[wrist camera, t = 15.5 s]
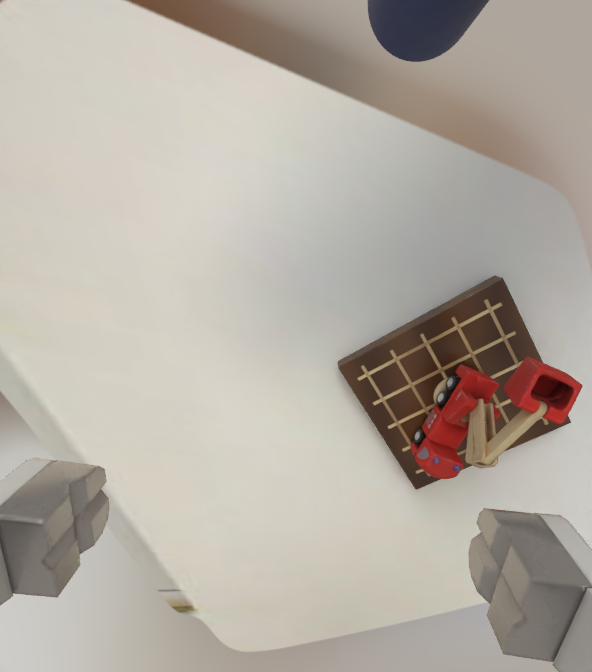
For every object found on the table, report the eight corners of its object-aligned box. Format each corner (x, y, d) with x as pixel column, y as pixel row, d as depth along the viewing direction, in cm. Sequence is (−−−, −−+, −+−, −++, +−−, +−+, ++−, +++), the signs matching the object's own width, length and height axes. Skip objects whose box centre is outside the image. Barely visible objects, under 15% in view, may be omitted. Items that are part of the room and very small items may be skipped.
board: (494, 275, 32) (504, 278, 30) (561, 414, 35) (572, 423, 34) (337, 361, 35) (338, 368, 33) (412, 480, 39) (416, 491, 37)
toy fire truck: (405, 446, 35) (434, 525, 26) (479, 325, 31) (545, 367, 22) (435, 459, 36) (474, 541, 26) (513, 339, 31) (592, 388, 22)
